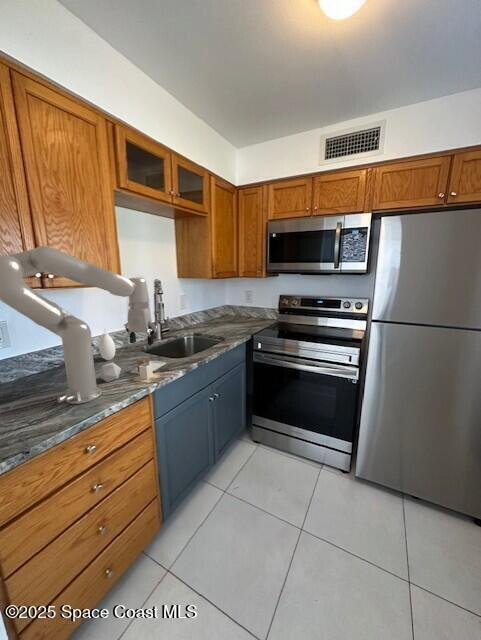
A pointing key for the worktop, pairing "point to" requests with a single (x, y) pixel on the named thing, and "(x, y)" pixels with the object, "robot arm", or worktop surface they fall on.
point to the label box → (145, 371)
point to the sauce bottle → (107, 347)
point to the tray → (154, 366)
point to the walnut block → (142, 362)
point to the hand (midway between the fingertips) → (141, 343)
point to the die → (109, 372)
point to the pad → (146, 379)
